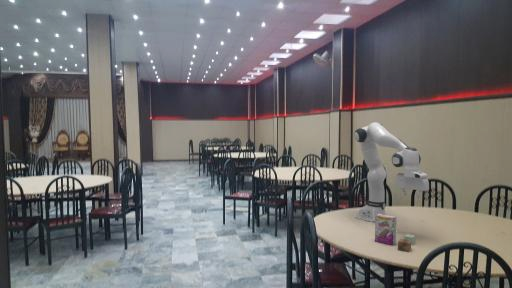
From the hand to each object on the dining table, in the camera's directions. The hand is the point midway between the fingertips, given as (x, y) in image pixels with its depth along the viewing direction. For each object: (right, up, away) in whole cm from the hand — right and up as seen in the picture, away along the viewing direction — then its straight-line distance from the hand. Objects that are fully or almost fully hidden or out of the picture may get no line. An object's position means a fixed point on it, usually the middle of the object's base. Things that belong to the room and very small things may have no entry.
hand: (412, 196), depth 212 cm
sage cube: (-3, -28, -4) cm, 28 cm away
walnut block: (-11, -28, -15) cm, 34 cm away
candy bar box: (-17, -28, -3) cm, 33 cm away
